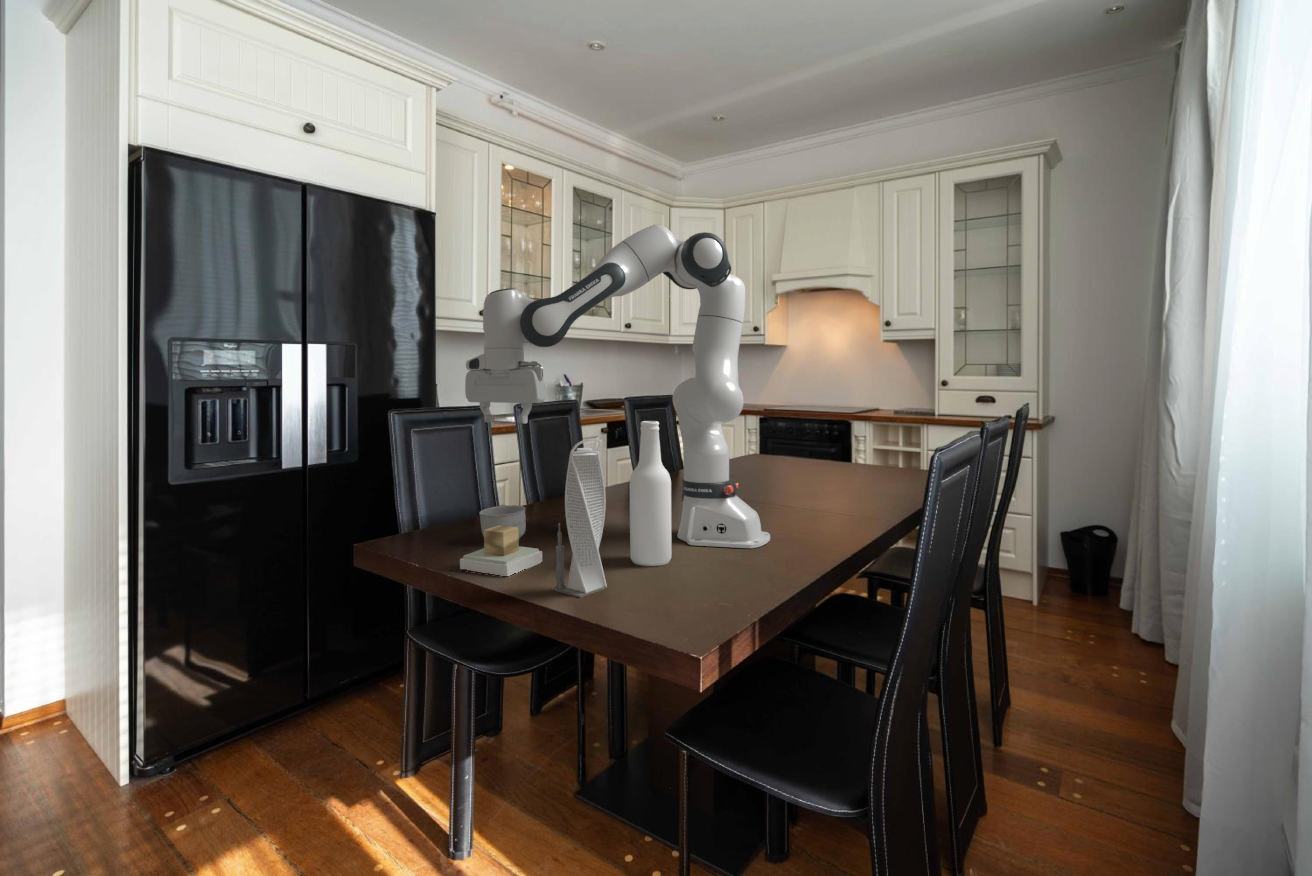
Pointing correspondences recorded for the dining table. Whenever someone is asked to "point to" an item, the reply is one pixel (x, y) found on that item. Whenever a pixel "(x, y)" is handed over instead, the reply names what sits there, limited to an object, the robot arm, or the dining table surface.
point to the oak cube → (501, 540)
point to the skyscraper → (583, 523)
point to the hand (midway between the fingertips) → (505, 422)
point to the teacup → (504, 517)
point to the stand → (501, 561)
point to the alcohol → (650, 503)
